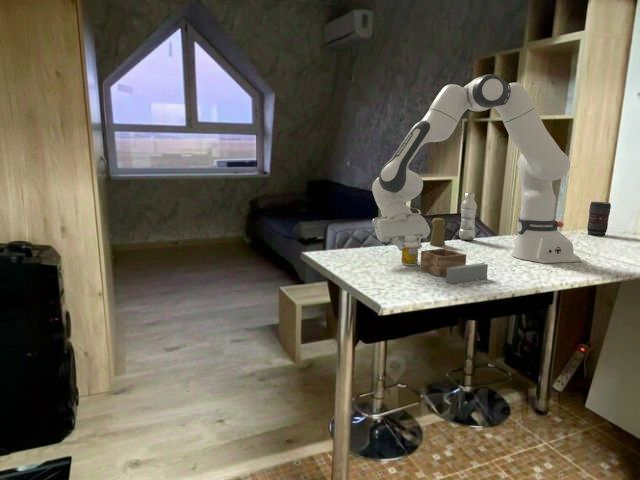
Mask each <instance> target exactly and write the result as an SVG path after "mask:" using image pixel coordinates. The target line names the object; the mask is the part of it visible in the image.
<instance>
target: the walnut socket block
mask: <svg viewBox="0 0 640 480" xmlns="http://www.w3.org/2000/svg"><path fill="white" fill-rule="evenodd" d="M464 265H467V254H465V253H462V252H459V251H455V250H452V249H450V248H446V247H445V248H437V249H435V248H434V249H428V250H421V252H420V265H419V266H420V267H419V268H420V270H423V271H424V272H428V273H430V274H433V275H435V276H438V277H446V275H447V268H448V267H456V266H464Z"/></svg>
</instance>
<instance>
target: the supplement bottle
mask: <svg viewBox="0 0 640 480" xmlns="http://www.w3.org/2000/svg"><path fill="white" fill-rule="evenodd" d="M416 240H417V236H414V235H406V236H405V240H404V241H402V244H404V245H405V250H404V251H401V264H402V265H403V266H409V267H413V266H416V265H417V266H418V261H419V259H418V258H419V249H418V243H417V241H416Z"/></svg>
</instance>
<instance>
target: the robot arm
mask: <svg viewBox="0 0 640 480" xmlns="http://www.w3.org/2000/svg"><path fill="white" fill-rule="evenodd" d="M533 101H534V100H533V99H532V97H531V96H530V94H529V92H528V91H527V90H526V88H524V86H523V85H522V84H521V83H519V82H510V83H509V82H507V81H505V80H504V79H503V78H502V77H500V76H499V75H497V74H491V73H490V74H489V73H488V74H484V75H482V76H479V77H476V78H474V79H473V80H472V81H470V82H467V84H465V85H464V86H461V85H458V84H452V83H450V84H447V85H445V86H443V87H442V89H441V90H440V91H439V92H438V94H437V95H436V97H435V98H434V100H433V102H431V105H430V107H429V108H428V111H427V112H426V113H425V115H424V116H423V118H422V119H421V120H420V121H418V122H417V123H415V124H414V125H413V127H411V129H410V130H409V132H408V133H407V134H406V136H405V137H404V139H403V140H402V141H401V143H400V145H399V146H398V147H397V149H396V151H395V152H394V153H393V155H392V157H391V158H390V159H389V160H387V162H386V163H385V164H384V165H383V166H382V168H381V169H380V171H379V174H378V175H379V176H378V177H377V178H376V179H375V180H374V181H373V183H372V187H371V191H372V195H373V197H374V201H375V203H376V205H377V207H378V208H379V209H380V215H381V217H375V218H373V219H372V225H373V227H374V230H375V234H376V238H377V240H378V241H379V242H380V243H387V242H389V243H390V242H392V243H393V245H394V246H395V247H397V248H398V250H399V252H402V251H404V250H405V245H404V244H403V243H402V242H401V241H405V236H406V235H414V236H417V240H416V242H417V243H418V250H421V249H422V247H423V246H422V245H423V244H422V243H421V242H422V241H421V240H422V239H427V237H428V236H430V233H431V228H430V226H429V224H428V222H427V221H426V219H425V218H424V216H423V215H421V214H422V212H421V210H420V209H418V208H414V207H411V206H408V205H405V203H408V202H410V201H412V200H415V199H416V198H417V197H419V195H420V194H421V193H422V191H423V189H424V179H422V176H420V175H419V174H418V173H416V172H415V171H413V170H410V169H409V166H410V163H411V162H412V160H413V159H414V157H415V156H416V154H417V153H418V151H419V150H420V149H421V148H422V147H423V146H424V145H425V144H427V143H440V142H442V141H446V140H448V139H449V138H450V137H451V136H452V134H453V133H454V131H455V129H456V127H457V126H458V124H459V122H460V120H461V118H462V116H463V115H464V113H465V112H470V113H478V112H479V113H480V112H484V111H487V110H490V109H491V108H493V109H495V111H497V113H498V114H499V116H500V118H501V120H502V123H503V125H504V127H505V129H506V131H507V133H508V136H509V137H510V140H511V142H512V143H513V144H514V145H515V147H516V148H517V149H518V150H519V152H520V153H521V154H520V155H519V157H518V158H517V164H516V165H517V166H516V167H517V169H518V171H519V182H520V192H521V202H520V213H519V217H518V221H517V226H516V227H517V230H516V231H517V237H516V240H515V243H514V247H513V250H512V253H511V256H512V257H513V258H517V259H520V260H525V261H529V262H531V261H532V262H537V263H542V264H555V263H574V262H575V263H578V262H581V257H579V256H578V255H576V254H575V253H574V244H573V242H572V241H571V240H570V239H569V238H567V236H566V235H564V234H563V233H561V231H559V230H558V228H560V229H562V228H563V227H564V225H565V224H564V221H557V220H556V219H554V218H555V211H556V209H555V208H556V200H557V197H556V194H555V192H554V188H553V181H557V180H560V179H562V178H564V177H565V176H566V175H567V174H568V172H569V171H570V167H571V162H570V158H569V156H568V155H567V154H566V153H565V152H563V150H561V148H560V146H559V145H558V144H557V142H556V141H555V140H554V138H553V137H552V135H551V134H550V132H549V131H548V130H547V128H546V126H545V124H544V122H543V120H542V118H541V116H540V114H539V112H538V110H537V107H536V105H535V104H534V102H533Z"/></svg>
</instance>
